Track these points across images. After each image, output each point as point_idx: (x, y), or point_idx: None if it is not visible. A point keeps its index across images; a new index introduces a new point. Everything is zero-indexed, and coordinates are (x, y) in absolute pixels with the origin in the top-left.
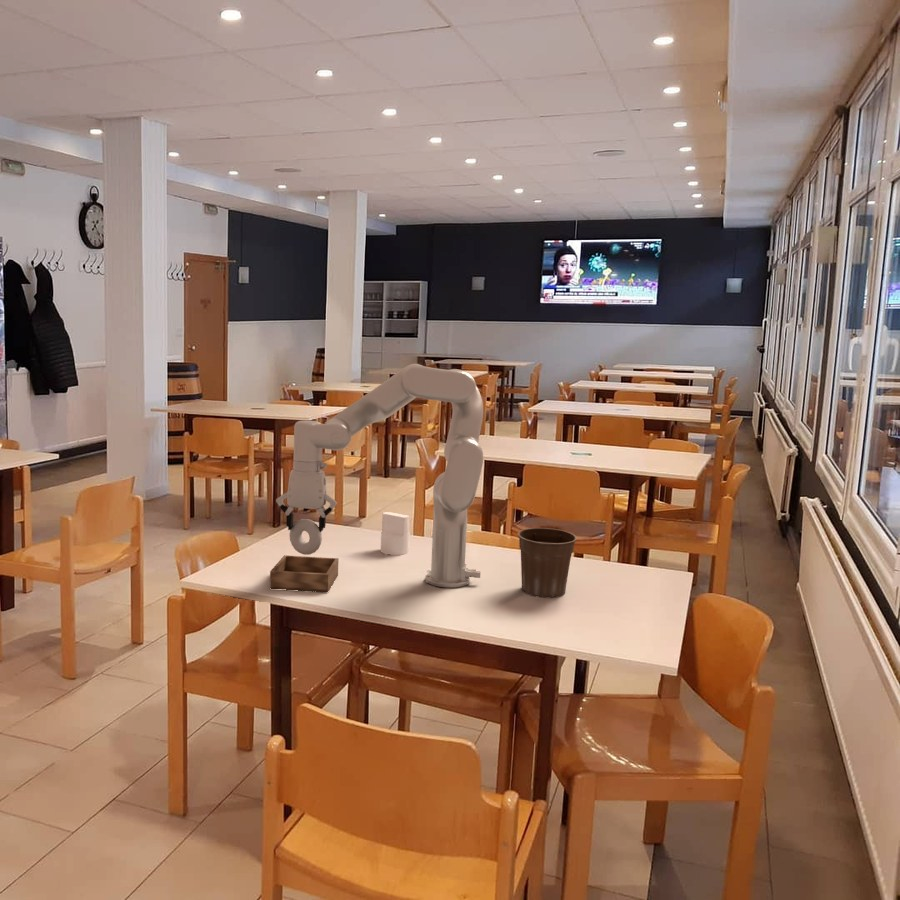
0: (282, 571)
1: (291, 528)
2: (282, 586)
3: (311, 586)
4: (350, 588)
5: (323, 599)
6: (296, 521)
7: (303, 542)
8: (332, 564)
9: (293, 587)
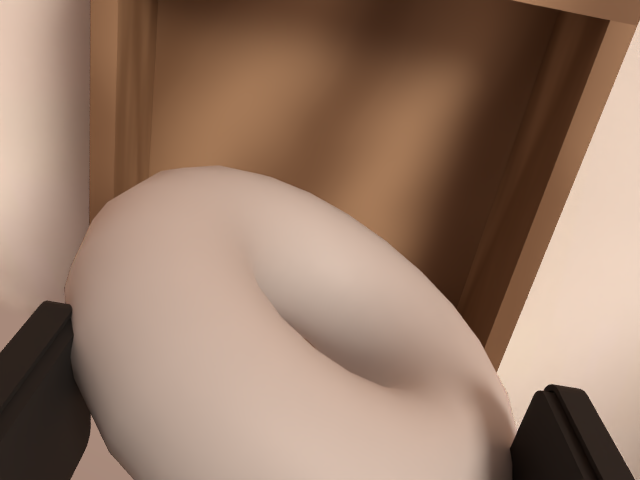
0: None
1: (87, 408)
2: None
3: None
4: (603, 270)
5: None
6: (116, 449)
7: (290, 302)
8: (549, 194)
9: None
